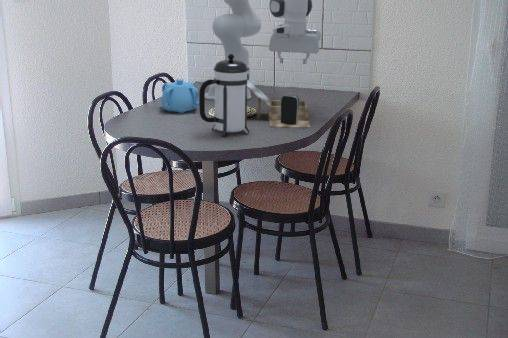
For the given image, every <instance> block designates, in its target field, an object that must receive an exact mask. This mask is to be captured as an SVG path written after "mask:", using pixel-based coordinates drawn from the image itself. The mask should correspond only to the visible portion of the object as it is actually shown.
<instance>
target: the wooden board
mask: <svg viewBox="0 0 508 338" xmlns="http://www.w3.org/2000/svg"><path fill="white" fill-rule="evenodd" d="M281 127H282V128H283V129H284V128H288V129H290V128H292V129H311V124H310V121H309V120H307V121H300V120H297V124H286V123H281V120H270V121H269V128H281Z"/></svg>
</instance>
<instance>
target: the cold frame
mask: <svg viewBox="0 0 508 338" xmlns="http://www.w3.org/2000/svg"><path fill="white" fill-rule="evenodd" d="M247 88H248V89H249V90H250V93H252V94H254V95H255V96H256V97H257V99H258V100H257V121H260V120H261V105H262V104H261V102H263V103H264V104H265V105H266V106H268V121H269V122H270V120H281V99H280V100H279V99H275V100H274V99H270V98H269V97H268V96H267V95H266V94H265V93H264V92H263V91H262V90H261V89H259V88H258V87H257V86H255V84H253V83H252V82H251V81H250V80H249V81H248V82H247ZM308 115H309V106H308V102H307V100H299V109H298V115H297V120H300V121H308V118H309V117H308Z"/></svg>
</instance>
